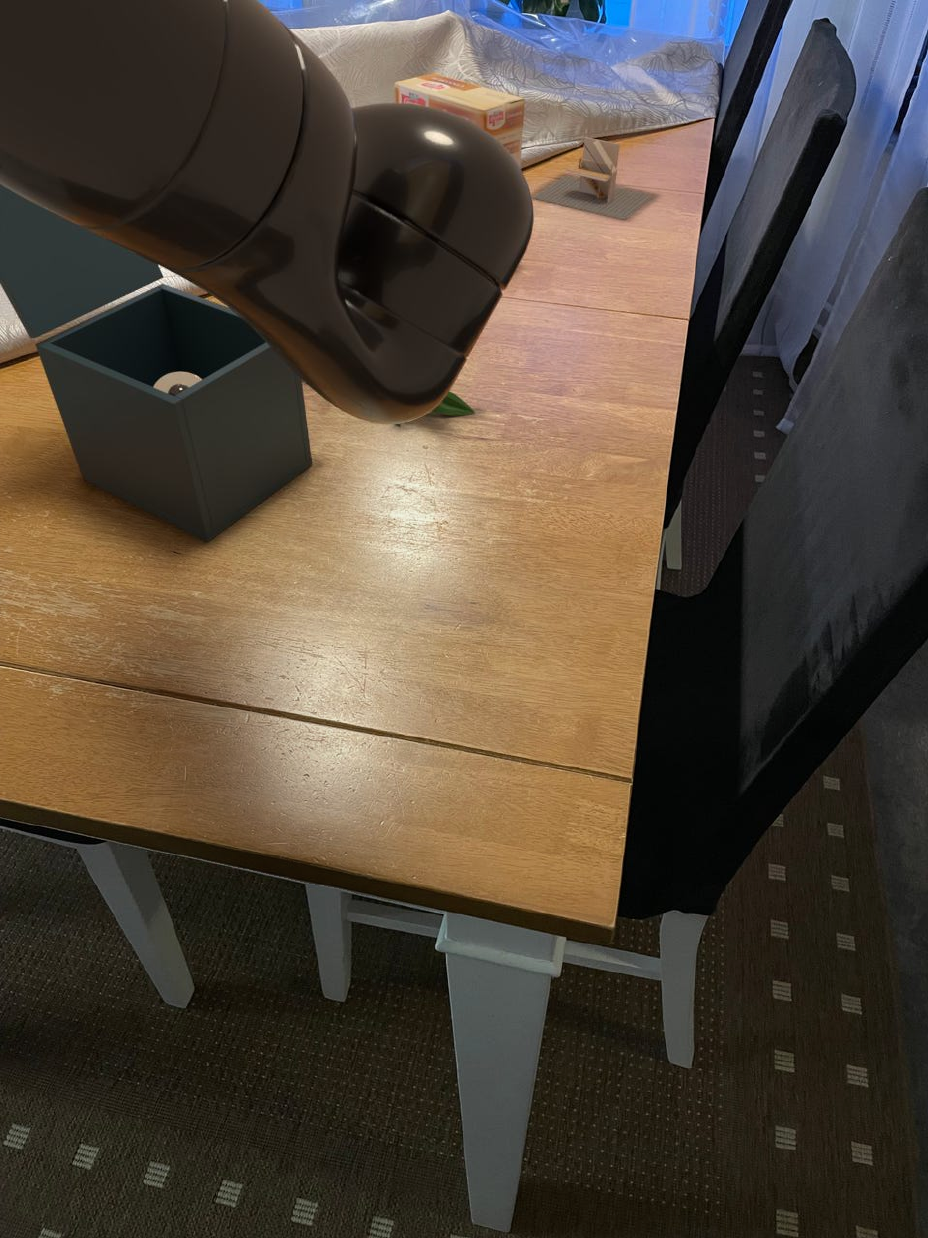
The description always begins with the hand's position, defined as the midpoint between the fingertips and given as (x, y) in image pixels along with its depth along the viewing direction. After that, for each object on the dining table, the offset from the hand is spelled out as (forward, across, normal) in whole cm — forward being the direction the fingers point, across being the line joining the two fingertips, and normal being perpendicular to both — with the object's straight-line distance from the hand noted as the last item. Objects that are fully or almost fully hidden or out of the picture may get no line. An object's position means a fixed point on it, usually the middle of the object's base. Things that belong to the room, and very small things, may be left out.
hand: (103, 116), depth 53 cm
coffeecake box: (+36, -46, +34) cm, 68 cm away
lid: (+18, +2, +8) cm, 20 cm away
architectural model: (+43, -76, +36) cm, 95 cm away
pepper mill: (+10, 0, +29) cm, 31 cm away
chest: (+10, 0, +31) cm, 33 cm away
